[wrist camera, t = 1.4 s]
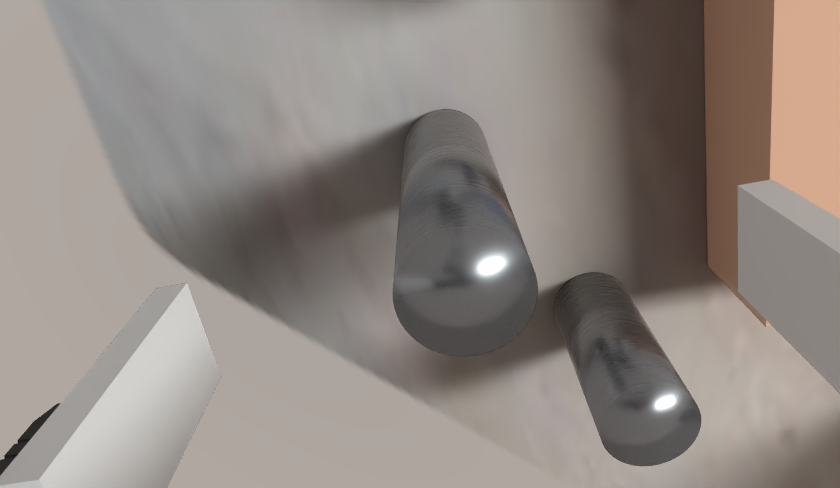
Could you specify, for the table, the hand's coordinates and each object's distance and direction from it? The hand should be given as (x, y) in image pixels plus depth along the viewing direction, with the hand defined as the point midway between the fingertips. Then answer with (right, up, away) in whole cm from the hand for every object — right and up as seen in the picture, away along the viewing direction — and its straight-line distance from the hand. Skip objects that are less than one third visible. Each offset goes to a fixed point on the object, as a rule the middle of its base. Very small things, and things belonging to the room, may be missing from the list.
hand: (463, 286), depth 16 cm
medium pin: (+6, -2, +13) cm, 14 cm away
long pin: (0, +5, +10) cm, 11 cm away
